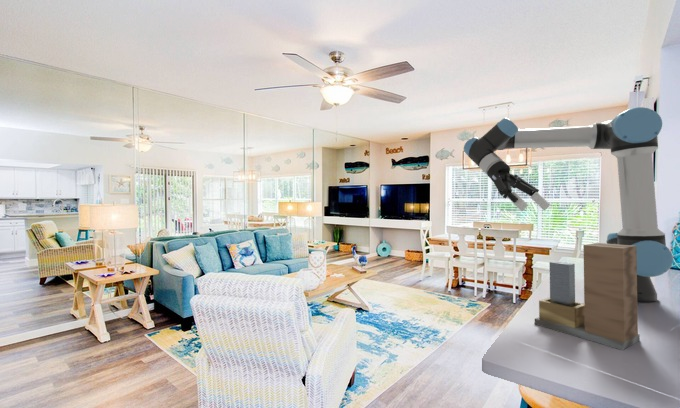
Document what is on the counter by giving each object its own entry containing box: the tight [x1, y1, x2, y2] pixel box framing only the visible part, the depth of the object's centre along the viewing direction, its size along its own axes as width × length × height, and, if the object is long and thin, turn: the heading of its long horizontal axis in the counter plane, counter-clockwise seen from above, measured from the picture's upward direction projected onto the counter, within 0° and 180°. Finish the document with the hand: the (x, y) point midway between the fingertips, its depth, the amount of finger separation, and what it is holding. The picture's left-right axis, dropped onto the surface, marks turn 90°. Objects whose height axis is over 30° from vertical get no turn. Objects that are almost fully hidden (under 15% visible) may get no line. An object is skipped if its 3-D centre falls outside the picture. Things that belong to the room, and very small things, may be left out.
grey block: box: [549, 260, 576, 307], centre depth 92 cm, size 3×5×16 cm, turn 31°
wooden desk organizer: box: [534, 242, 641, 351], centre depth 87 cm, size 10×20×24 cm, turn 31°
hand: (536, 207), depth 111 cm, fingers open, 13 cm apart
